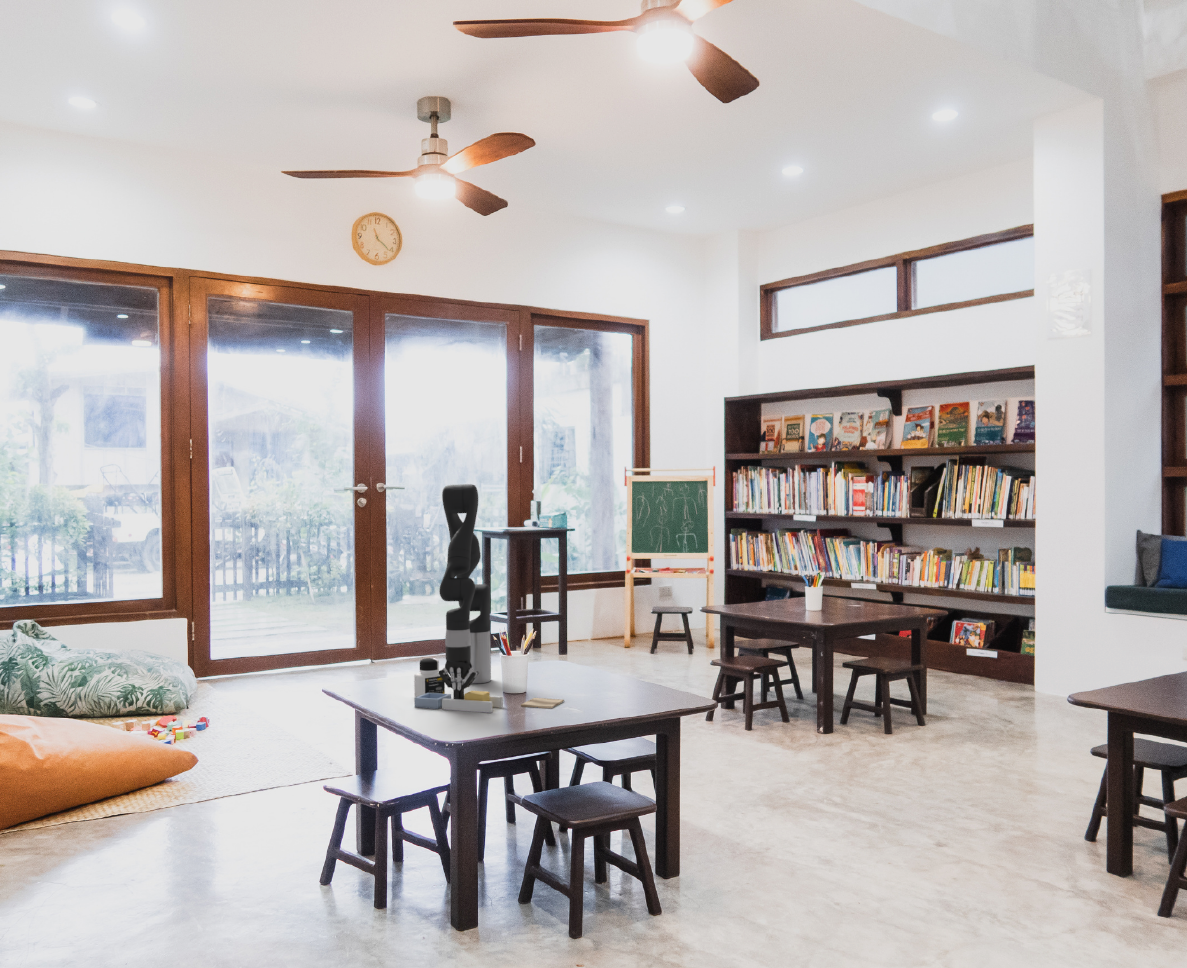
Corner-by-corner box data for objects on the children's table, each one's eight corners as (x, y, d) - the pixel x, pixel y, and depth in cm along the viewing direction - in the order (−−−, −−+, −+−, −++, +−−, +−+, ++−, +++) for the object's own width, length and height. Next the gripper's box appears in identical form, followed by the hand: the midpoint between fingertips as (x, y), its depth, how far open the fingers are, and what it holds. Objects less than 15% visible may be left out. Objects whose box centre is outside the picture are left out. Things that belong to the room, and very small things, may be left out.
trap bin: (428, 701, 290) (428, 692, 290) (451, 703, 287) (450, 694, 287) (414, 707, 282) (414, 698, 282) (438, 709, 279) (437, 699, 279)
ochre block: (471, 706, 282) (471, 690, 283) (489, 707, 280) (489, 691, 281) (464, 709, 278) (464, 693, 278) (482, 711, 276) (482, 694, 276)
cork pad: (534, 699, 290) (534, 697, 290) (564, 701, 287) (564, 699, 287) (520, 706, 281) (520, 704, 281) (551, 708, 278) (551, 706, 278)
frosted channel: (442, 709, 279) (442, 699, 279) (455, 703, 287) (455, 693, 287) (490, 712, 273) (490, 702, 273) (503, 706, 281) (503, 696, 281)
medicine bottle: (425, 700, 292) (424, 661, 293) (414, 696, 298) (413, 658, 298) (445, 696, 297) (444, 658, 297) (433, 693, 302) (433, 656, 303)
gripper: (483, 643, 283) (484, 701, 283) (444, 641, 288) (445, 698, 287) (471, 647, 276) (472, 706, 276) (432, 645, 280) (433, 703, 280)
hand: (458, 702), depth 281 cm, fingers closed
